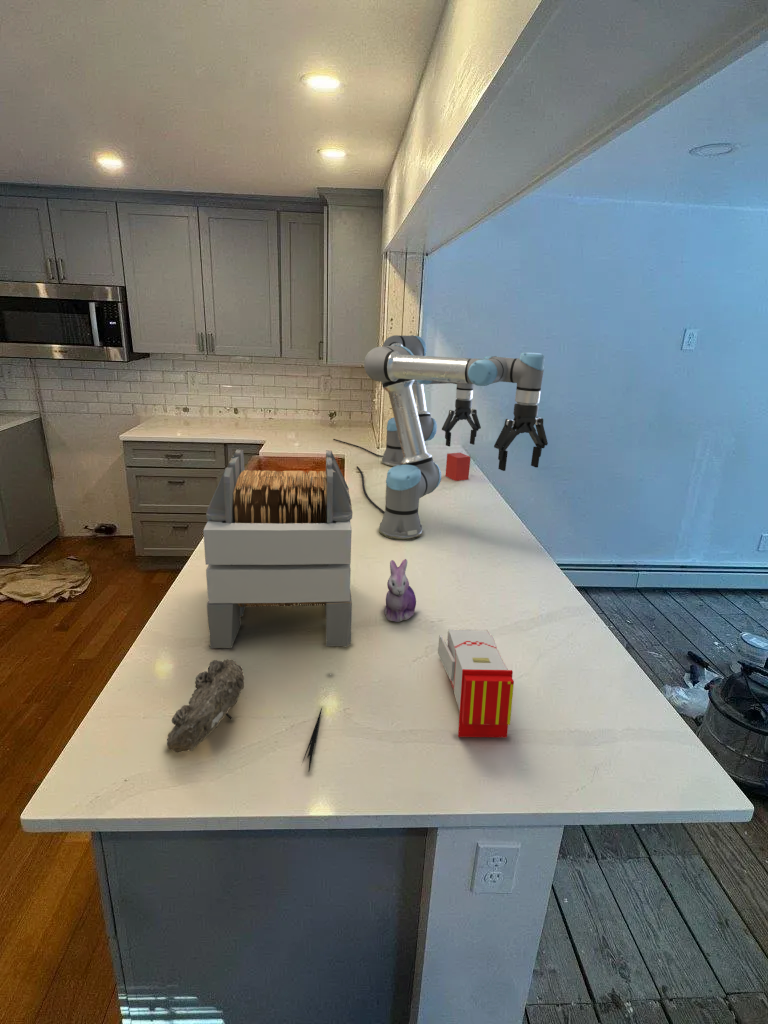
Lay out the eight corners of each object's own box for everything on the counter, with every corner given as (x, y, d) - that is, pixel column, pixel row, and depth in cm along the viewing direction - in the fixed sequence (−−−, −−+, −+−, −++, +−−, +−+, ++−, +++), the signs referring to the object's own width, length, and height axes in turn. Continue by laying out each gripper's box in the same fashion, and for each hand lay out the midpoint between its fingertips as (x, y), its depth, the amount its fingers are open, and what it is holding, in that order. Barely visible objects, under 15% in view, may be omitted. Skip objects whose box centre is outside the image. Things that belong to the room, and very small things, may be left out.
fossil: (192, 660, 117) (244, 628, 112) (224, 691, 120) (276, 661, 115) (142, 746, 98) (202, 712, 93) (182, 779, 101) (242, 748, 96)
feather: (331, 679, 122) (336, 673, 122) (307, 777, 96) (313, 769, 95) (324, 675, 122) (329, 669, 121) (298, 772, 95) (304, 764, 95)
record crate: (229, 582, 160) (221, 440, 146) (345, 581, 163) (348, 442, 150) (207, 650, 128) (194, 478, 114) (351, 647, 132) (356, 479, 118)
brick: (468, 479, 268) (470, 456, 265) (455, 480, 265) (457, 458, 261) (458, 474, 276) (460, 452, 272) (445, 475, 272) (447, 453, 269)
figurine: (392, 627, 141) (395, 572, 136) (374, 608, 149) (376, 556, 144) (425, 619, 145) (429, 566, 140) (405, 601, 154) (408, 550, 149)
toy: (488, 613, 130) (523, 677, 101) (484, 667, 133) (517, 744, 104) (435, 612, 130) (455, 676, 101) (432, 666, 133) (451, 743, 103)
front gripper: (548, 400, 188) (539, 462, 195) (487, 402, 177) (480, 468, 184) (564, 404, 182) (555, 467, 189) (502, 406, 171) (494, 474, 178)
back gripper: (481, 397, 266) (477, 441, 273) (436, 398, 255) (433, 445, 262) (491, 399, 260) (486, 444, 267) (445, 401, 249) (441, 448, 256)
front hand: (518, 468), depth 187 cm, fingers open, 13 cm apart
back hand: (460, 445), depth 265 cm, fingers open, 13 cm apart
